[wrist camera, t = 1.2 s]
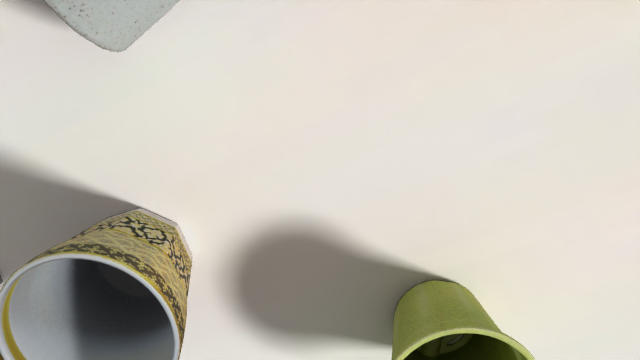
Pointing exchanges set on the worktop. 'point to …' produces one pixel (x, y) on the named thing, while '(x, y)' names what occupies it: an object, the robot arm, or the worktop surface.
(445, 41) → the worktop surface
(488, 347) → the plant pot
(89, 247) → the ceramic cup
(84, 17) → the ceramic mug
